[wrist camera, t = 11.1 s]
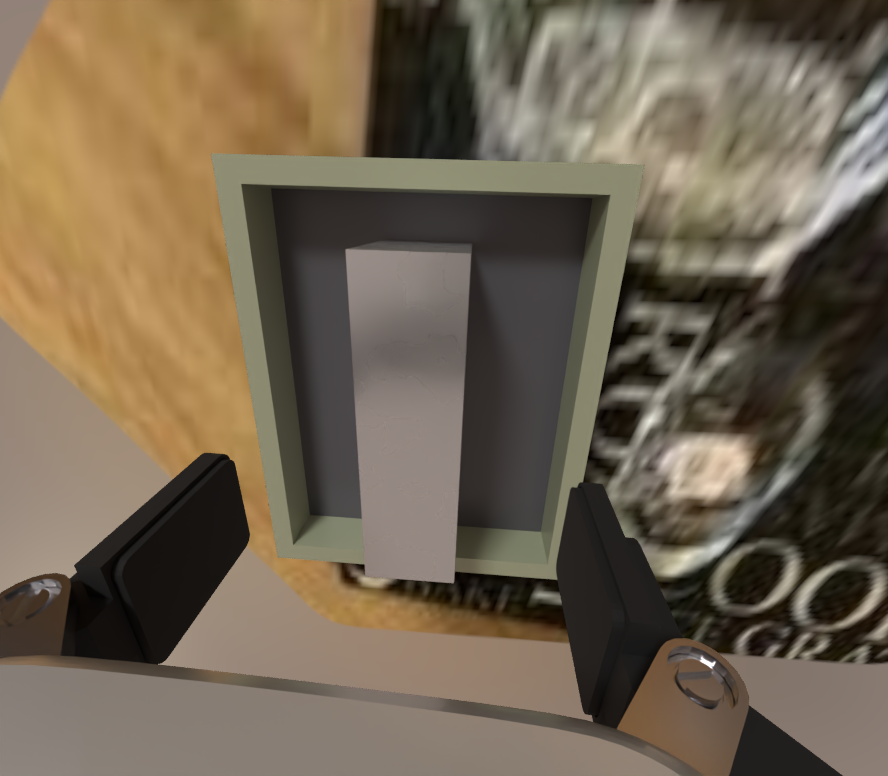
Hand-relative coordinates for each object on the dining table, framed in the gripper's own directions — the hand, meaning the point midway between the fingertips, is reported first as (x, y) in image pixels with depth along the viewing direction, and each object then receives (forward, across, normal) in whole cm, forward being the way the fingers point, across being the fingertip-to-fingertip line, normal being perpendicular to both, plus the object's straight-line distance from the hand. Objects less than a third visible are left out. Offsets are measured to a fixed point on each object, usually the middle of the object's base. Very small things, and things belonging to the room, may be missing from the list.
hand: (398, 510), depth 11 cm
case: (+11, +1, +1) cm, 11 cm away
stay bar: (+10, +1, +1) cm, 10 cm away
